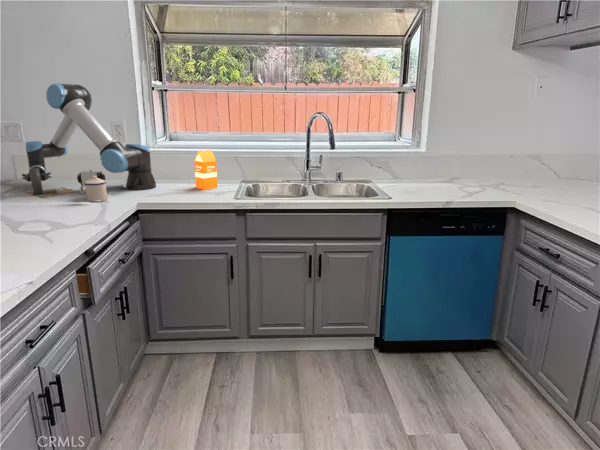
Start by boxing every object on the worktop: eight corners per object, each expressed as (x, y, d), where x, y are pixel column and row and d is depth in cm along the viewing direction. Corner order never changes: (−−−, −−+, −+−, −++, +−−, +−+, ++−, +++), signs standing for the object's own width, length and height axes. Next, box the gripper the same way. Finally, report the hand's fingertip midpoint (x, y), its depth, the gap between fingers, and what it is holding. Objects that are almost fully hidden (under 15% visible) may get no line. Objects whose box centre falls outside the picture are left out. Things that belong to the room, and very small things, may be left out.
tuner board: (81, 194, 205) (81, 191, 205) (43, 200, 191) (42, 197, 190) (62, 189, 215) (61, 186, 214) (24, 195, 200) (24, 192, 200)
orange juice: (195, 187, 224) (193, 150, 218) (208, 185, 230) (207, 149, 224) (204, 189, 219) (202, 151, 213) (217, 187, 225) (216, 150, 219)
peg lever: (62, 190, 205) (59, 166, 202) (64, 192, 202) (60, 167, 199) (32, 194, 197) (28, 168, 194) (34, 195, 194) (29, 169, 191)
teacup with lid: (112, 198, 196) (109, 174, 193) (101, 203, 187) (97, 178, 184) (88, 198, 197) (84, 173, 194) (76, 202, 188) (72, 177, 185)
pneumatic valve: (103, 194, 204) (100, 170, 200) (79, 195, 203) (75, 170, 199) (108, 192, 209) (105, 169, 205) (84, 192, 208) (81, 169, 205)
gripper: (52, 179, 221) (52, 187, 201) (23, 181, 215) (21, 190, 195) (50, 165, 219) (50, 172, 199) (21, 167, 212) (18, 174, 193)
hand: (35, 181), depth 197 cm, fingers closed
